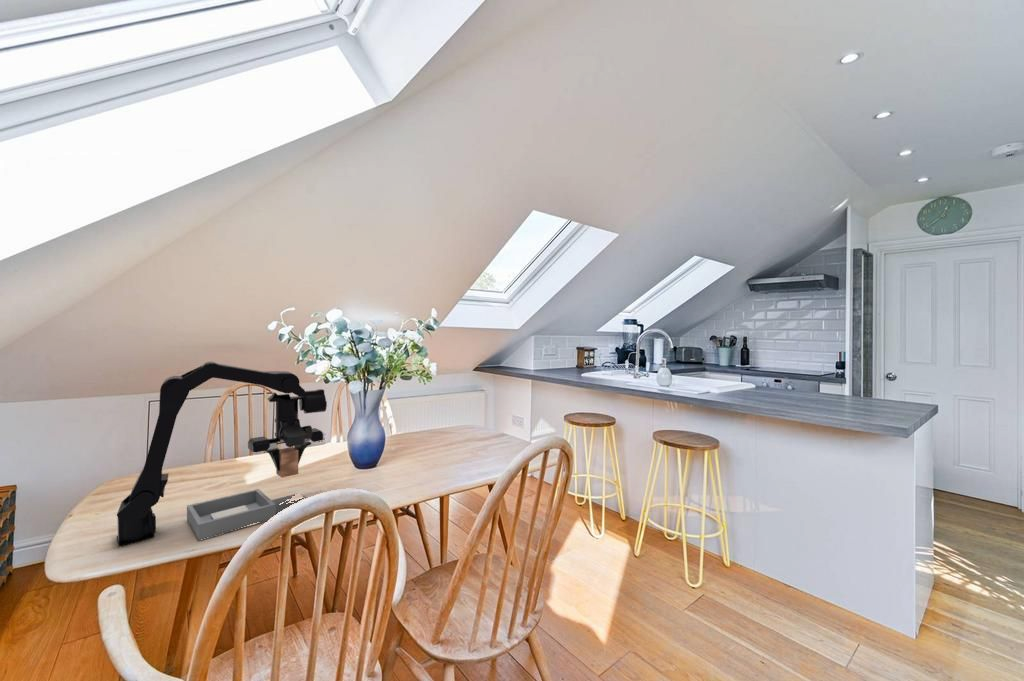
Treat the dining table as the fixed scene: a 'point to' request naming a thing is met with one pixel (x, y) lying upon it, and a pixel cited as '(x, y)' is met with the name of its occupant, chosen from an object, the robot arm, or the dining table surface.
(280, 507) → the mat
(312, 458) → the dining table surface
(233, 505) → the crate
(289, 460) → the block
